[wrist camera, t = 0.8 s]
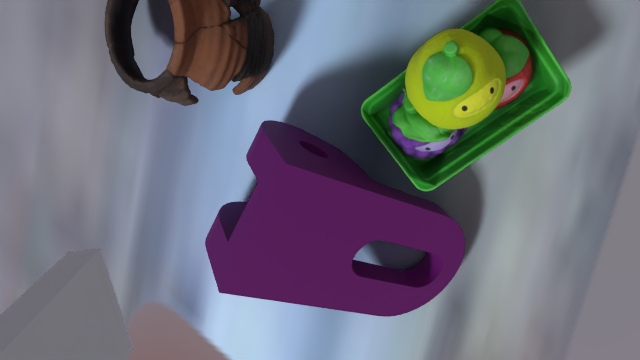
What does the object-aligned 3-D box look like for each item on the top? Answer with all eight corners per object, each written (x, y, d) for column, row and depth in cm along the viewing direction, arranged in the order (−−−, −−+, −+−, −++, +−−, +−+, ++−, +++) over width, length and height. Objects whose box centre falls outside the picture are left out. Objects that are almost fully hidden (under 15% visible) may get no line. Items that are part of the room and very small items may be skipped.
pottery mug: (241, 127, 36) (153, 139, 29) (171, 42, 39) (74, 35, 32) (335, -6, 30) (252, -29, 23) (246, -97, 32) (146, -143, 26)
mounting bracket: (426, 176, 43) (249, 108, 34) (486, 229, 36) (286, 163, 27) (374, 259, 46) (196, 218, 36) (421, 322, 39) (218, 292, 30)
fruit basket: (411, 174, 37) (444, 239, 26) (341, 82, 35) (345, 112, 24) (543, 81, 34) (638, 110, 24) (476, -24, 32) (547, -44, 21)
